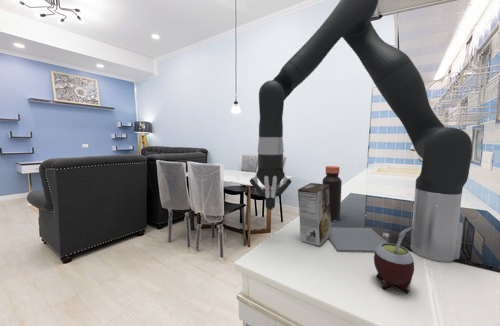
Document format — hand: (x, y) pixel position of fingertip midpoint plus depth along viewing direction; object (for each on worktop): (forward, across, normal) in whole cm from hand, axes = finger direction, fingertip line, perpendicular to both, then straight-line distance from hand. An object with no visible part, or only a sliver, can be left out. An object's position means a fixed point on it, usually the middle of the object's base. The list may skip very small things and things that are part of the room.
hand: (270, 208), depth 67 cm
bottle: (+9, -24, -18) cm, 31 cm away
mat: (+9, -26, 0) cm, 28 cm away
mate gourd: (+9, -25, +21) cm, 34 cm away
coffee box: (+9, -14, 0) cm, 17 cm away
